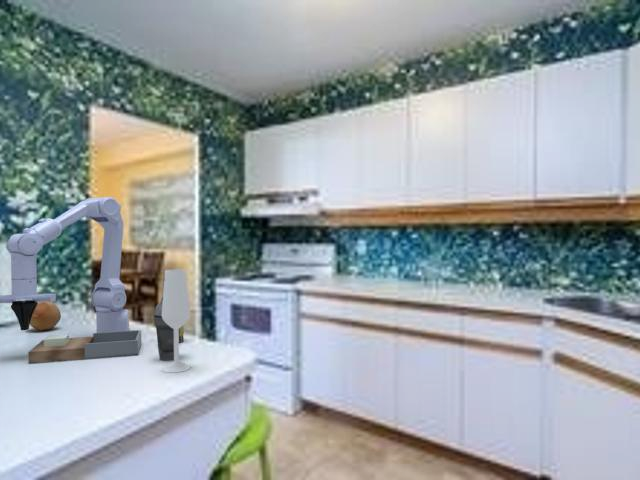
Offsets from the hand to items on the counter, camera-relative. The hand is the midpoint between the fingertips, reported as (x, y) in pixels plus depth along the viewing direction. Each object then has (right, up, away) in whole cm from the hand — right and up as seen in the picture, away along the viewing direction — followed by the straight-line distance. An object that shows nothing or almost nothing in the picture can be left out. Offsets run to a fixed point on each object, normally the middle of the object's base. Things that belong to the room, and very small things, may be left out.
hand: (24, 329), depth 125 cm
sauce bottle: (+34, -7, +17) cm, 39 cm away
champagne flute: (+44, -8, -10) cm, 46 cm away
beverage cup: (+39, -8, -1) cm, 40 cm away
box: (+21, -7, +7) cm, 23 cm away
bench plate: (+9, -7, +3) cm, 12 cm away
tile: (+7, -4, +2) cm, 9 cm away
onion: (-15, -7, +35) cm, 39 cm away
